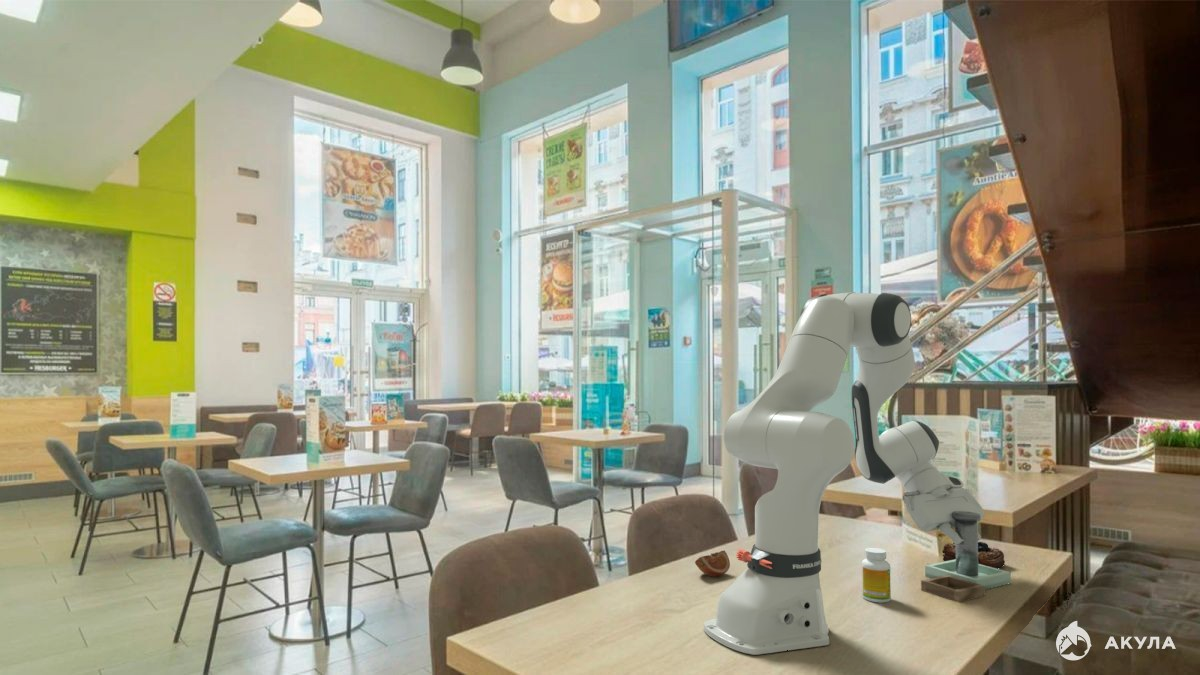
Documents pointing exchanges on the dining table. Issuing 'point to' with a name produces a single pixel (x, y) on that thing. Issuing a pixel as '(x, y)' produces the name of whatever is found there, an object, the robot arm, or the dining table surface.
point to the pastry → (985, 555)
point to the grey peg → (967, 542)
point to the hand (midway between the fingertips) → (969, 541)
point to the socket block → (940, 587)
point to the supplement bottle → (876, 576)
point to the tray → (986, 576)
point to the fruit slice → (714, 564)
